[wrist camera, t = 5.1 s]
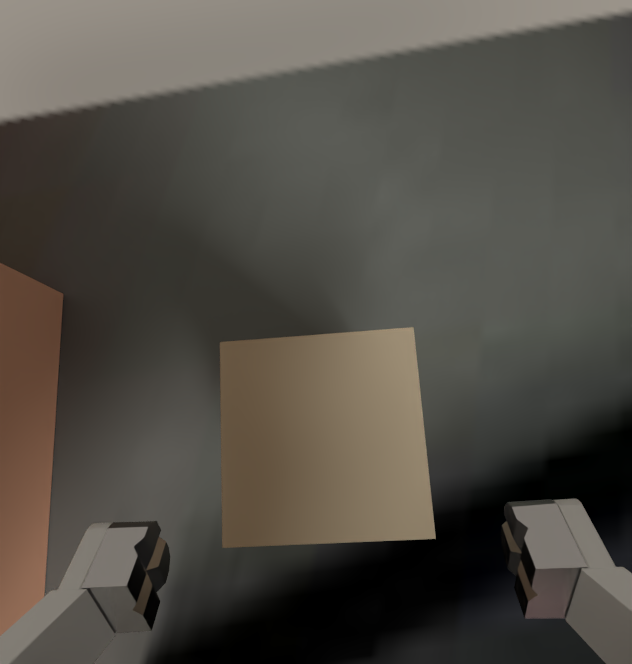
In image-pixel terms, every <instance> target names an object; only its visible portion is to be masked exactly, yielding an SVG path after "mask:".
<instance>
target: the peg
mask: <svg viewBox="0 0 632 664" xmlns="http://www.w3.org/2000/svg"><path fill="white" fill-rule="evenodd" d="M220 393H221V473H222V548H228V547H252V546H275V545H299V544H323V543H346V542H370V541H393V540H417V539H436V537H435V527H434V518H433V508H432V499H431V489H430V480H429V470H428V461H427V451H426V442H425V432H424V423H423V413H422V404H421V394H420V385H419V375H418V366H417V356H416V347H415V337H414V328H413V327H411V328H398V329H385V330H372V331H358V332H345V333H332V334H319V335H306V336H293V337H280V338H267V339H254V340H241V341H228V342H220Z"/></svg>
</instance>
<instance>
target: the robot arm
mask: <svg viewBox="0 0 632 664" xmlns="http://www.w3.org/2000/svg"><path fill="white" fill-rule="evenodd" d="M504 514H505V517H506V520H507V522H505V523H504V524H503V525H502V530H501V542H502V549H503V554H504V558H505V561H506V564H507V567H508V569H509V570H510V571H511V572H512V573H514V574H515V575H516V582H515V587H514V588H515V591H516V594H517V597H518V600H519V603H520V606H521V609H522V612H523V615H524V618H566V621H567V622H568V624H569V625H570V626H571V627H572V628H573V629H574V630H575V631H576V632H577V633H578V634H579V635H580V636H581V637H582V638H583V640H584V641H585V642H586V643H587V644H588V645H589V646H590V647H591V648H592V649H593V650H594V651H595V652H596V653H597V654H598V655H599V657H600V658H601V659H602V660H603V661H604V662H605V663H606V664H632V573H630V572H629V571H628V570H627V569H625V568H624V567H616V566H615V564H614V562H613V561H612V559H611V557H610V555H609V553H608V551H607V550H606V548H605V546H604V544H603V542H602V540H601V539H600V537H599V535H598V533H597V531H596V529H595V527H594V526H593V524H592V522H591V520H590V518H589V516H588V515H587V513H586V511H585V509H584V507H583V505H582V503H581V502H580V501H578V500H577V499H562V500H536V501H521V502H507V504H506V505H505V509H504ZM160 531H161V529H160V527H159V525H158V523H157V521H146V522H110V523H93V524H92V525H91V526H90V527H89V528H88V529H87V530H86V532H85V534H84V536H83V538H82V540H81V542H80V545H79V547H78V549H77V551H76V553H75V555H74V557H73V559H72V561H71V563H70V565H69V567H68V569H67V571H66V573H65V576H64V578H63V580H62V582H61V584H60V586H59V588H58V590H51V591H50V592H49V593H48V594H47V595H46V596H45V597H43V598H42V599H41V600H40V601H39V602H38V603H37V604H36V605H35V606H33V607H32V608H31V609H30V610H29V611H28V612H27V613H26V614H24V615H23V616H22V617H21V618H20V619H19V620H18V621H17V622H16V623H14V624H13V625H12V626H11V627H10V628H9V629H8V630H7V631H5V632H4V633H3V634H2V635H1V636H0V664H93V663H94V662H95V661H96V660H97V658H98V657H99V656H100V655H101V653H102V652H103V651H104V650H105V648H106V647H107V646H108V645H109V643H110V642H111V641H112V640H113V638H114V637H115V633H129V632H145V631H152V627H153V624H154V621H155V617H156V614H157V610H158V607H159V604H160V600H159V598H158V595H157V593H156V592H157V591H158V590H159V589H160V588H161V587H162V586H163V585H164V584H165V583H166V579H167V576H168V572H169V564H170V553H169V547H168V545H167V543H166V541H164V540H163V539H161V538H160V537H159V534H160Z"/></svg>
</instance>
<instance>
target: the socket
mask: <svg viewBox="0 0 632 664" xmlns="http://www.w3.org/2000/svg"><path fill="white" fill-rule="evenodd" d="M62 308H63V293H60V292H58V291H56V290H54V289H52V288H50V287H48V286H46V285H44V284H42V283H40V282H38V281H36V280H34V279H32V278H30V277H28V276H26V275H24V274H22V273H20V272H18V271H16V270H14V269H12V268H10V267H8V266H6V265H4V264H2V263H0V636H1V635H2V634H3V633H4V632H5V631H7V630H8V629H9V628H10V627H11V626H12V625H13V624H14V623H16V622H17V621H18V620H19V619H20V618H21V617H22V616H23V615H24V614H26V613H27V612H28V611H29V610H30V609H31V608H32V607H33V606H35V605H36V604H37V603H38V602H39V601H40V600H41V599H42V598H43V597H44V593H45V577H46V561H47V545H48V529H49V514H50V498H51V482H52V466H53V450H54V435H55V419H56V403H57V387H58V371H59V356H60V340H61V324H62Z"/></svg>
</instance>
